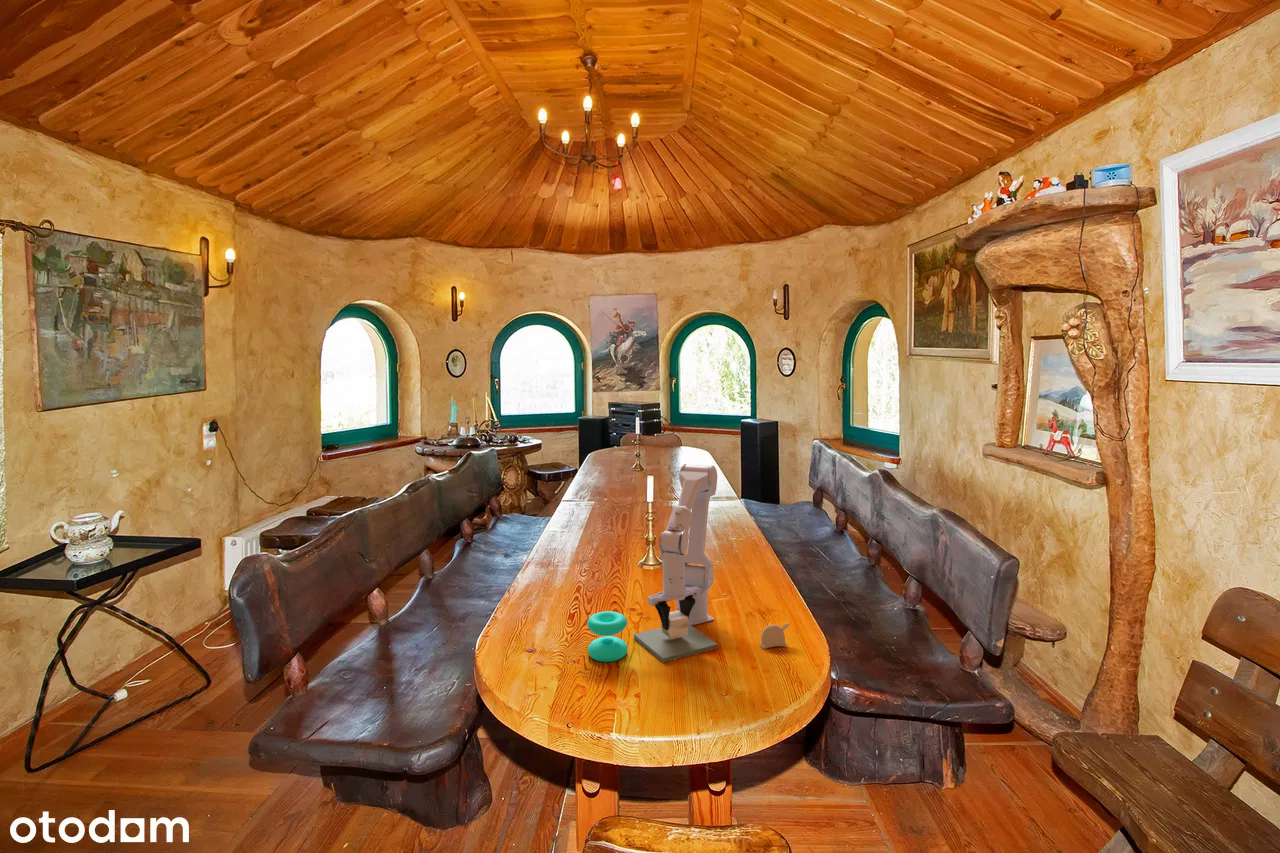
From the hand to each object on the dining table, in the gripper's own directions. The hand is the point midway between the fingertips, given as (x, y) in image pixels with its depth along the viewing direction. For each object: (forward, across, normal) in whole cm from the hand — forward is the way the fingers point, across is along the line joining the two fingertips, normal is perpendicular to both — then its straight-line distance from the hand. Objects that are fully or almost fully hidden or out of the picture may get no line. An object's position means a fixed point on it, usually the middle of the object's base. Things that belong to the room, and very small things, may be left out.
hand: (674, 626), depth 176 cm
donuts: (+5, -18, +3) cm, 19 cm away
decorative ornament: (+5, +22, -14) cm, 26 cm away
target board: (+5, 0, 0) cm, 5 cm away
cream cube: (+2, 0, 0) cm, 2 cm away
